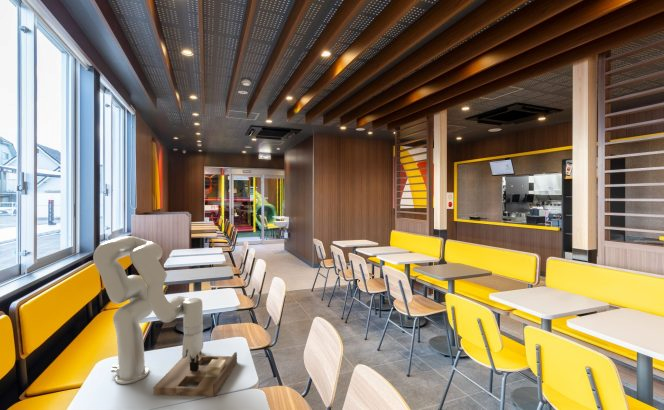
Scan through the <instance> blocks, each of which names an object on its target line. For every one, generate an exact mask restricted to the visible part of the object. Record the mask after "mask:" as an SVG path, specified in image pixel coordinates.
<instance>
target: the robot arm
mask: <svg viewBox="0 0 664 410" xmlns="http://www.w3.org/2000/svg"><path fill="white" fill-rule="evenodd" d="M93 252H94V253H93V259H92V260H93V263H94V265H95V268H96V270H97V272H98V273H99V275H100V277H101V280H102V282H103V285H104V288H105V290H106V294H107V297H108V298H109V300H110V301H111V302H112V303H114V304H123V303H124V302H126V301H129V302H128V303H126V304H124V305H122V306H120V307H119V308H118V309H117V310H115V312H114V314H113V318H112V321H113V322H112V323H113V325H114V328H115V335H116V343H117V344H116V345H117V361H118V364H113V365H112V368H111V370H110V372H111V373H116V375H115V376H114V381H115V383H117V384H119V385H128V384H129V385H130V384H132V383H135V382H139V381H140V380H142V379H144V378H145V377H146V376H147V375H148V374H149V372H150V368H149V366H147V365H146V364H145V362H146V361H145V347H144V345H145V344H144V332H143V330H142V327H141V325H140V322H141V321H143V320H144V319H146V318H147V317H149V316H150V315H151V314H152V313H154V315H155V317H156V318H157V319H158V320H159V321H160V322H163V323H170V322H173V321H174V320H176V319H177V318H179V316H181V315H182V316H183V317H182V319H183V334H184V335H183V338H182V353H181V355H182V357H183V359H184V358H186V356H187V361H186V362H187V363H190V371H197V370H198V369H199V353H200V351H202V350H203V348H204V332H203V331H204V323H203V322H204V321H203V320H204V319H203V318H204V315H203V313H204V311H203V300H202V299H201V298H198V297H197V298H196V297H191V298H190V297H185V296H175V297H173V298H172V299H170V300H168V298H167V297H166V296H165V293H164V283H165V282H166V279H167V276H168V274H167V272H166V270H165V269H164V267H163V266H162V264H161V262H160V261H159V260H160V259H162V256H163V253H164V252H163V249H162V247H161V246H160V245H159V244H158V243H156V242H153V241H150V240H148V239H147V240H146V239H144V238H140V237H136V236H134V235H133V236H132V235H127V236H122V237H118V238H114V239H109V240H107V241H104V242H103V243H100V244H99V245H98V246H97V247H96V248H95V250H94V251H93ZM128 256H129V259H130V262H131V263H132V264H133V266H134V268H135V270H136V271H137V273H138V274H139V275H137V274H131V275H130V274H129V275H127V273H126V271H125V268H124V266H123V265H122V264H121V263H120V262H119V261H118V260H119V259H122V258H125V257H128ZM182 357H181V358H182Z"/></svg>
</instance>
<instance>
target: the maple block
mask: <svg viewBox="0 0 664 410" xmlns="http://www.w3.org/2000/svg"><path fill="white" fill-rule="evenodd" d="M225 366H226V360H218V359H212V360H211V362H210V363H209V364H208V365H207V367H206V375H218V376H219V374H220V373H221V372H222V370H223V369H224V367H225Z"/></svg>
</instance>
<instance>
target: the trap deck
mask: <svg viewBox="0 0 664 410" xmlns="http://www.w3.org/2000/svg"><path fill="white" fill-rule="evenodd" d="M212 359H218V360H226V366H225V367H224V369H223V370H222V372H221V373H220V374H219V376H218V375H206V367H207V365H208V364H209V363H210V362H211V360H212ZM186 361H187V356H186V358H184V359H183V357H181V358H180V359H179V360H178V362H176V364H174V365H173V366H172V367H171V368H170V369H169V371H168V372H167V373H166V374H165V375H164V376H163V377H162V378H161V379H160V380H159V381H158V382H157V383H156V384H155V385H154V386H153V395H154V396H157V395H158V396H181V397H182V396H185V397H186V396H187V397H189V396H190V397H193V396H194V397H217V395H218V394H219V392H220V391H221V389H222V388H223V386H224V385H225V383H226V381H227V380H228V379H229V376H231V373H232V371H233V370H234V369H235V367H236V365H237V364H238V352H237V351H235V352H234V353H233V354H232V355H231V356H230V355H229V356H228V355H227V356H226V355H224V356H223V355H203V356H199V369H198V370H197V371H190V363H187V362H186Z"/></svg>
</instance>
